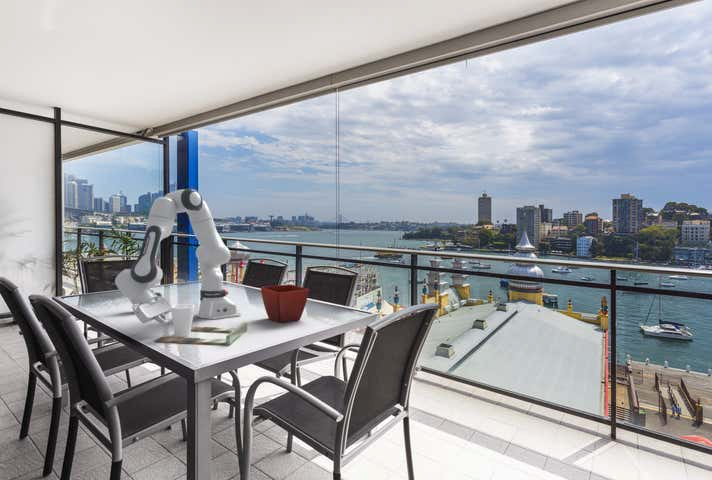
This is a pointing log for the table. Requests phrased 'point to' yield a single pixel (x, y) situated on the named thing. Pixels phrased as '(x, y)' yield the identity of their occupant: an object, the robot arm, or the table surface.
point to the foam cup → (182, 319)
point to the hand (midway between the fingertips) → (166, 323)
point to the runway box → (230, 338)
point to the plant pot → (284, 302)
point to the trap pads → (198, 338)
